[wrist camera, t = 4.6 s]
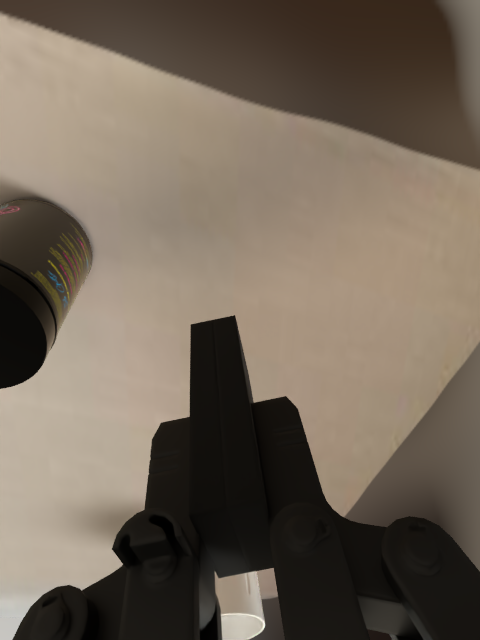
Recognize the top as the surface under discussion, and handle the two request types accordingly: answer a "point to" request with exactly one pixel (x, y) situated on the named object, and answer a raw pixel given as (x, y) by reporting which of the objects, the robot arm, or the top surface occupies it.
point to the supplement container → (36, 282)
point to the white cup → (240, 606)
